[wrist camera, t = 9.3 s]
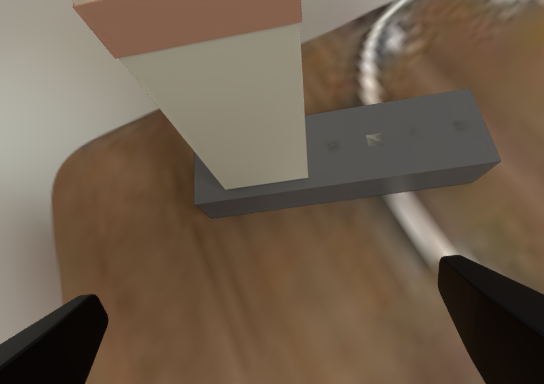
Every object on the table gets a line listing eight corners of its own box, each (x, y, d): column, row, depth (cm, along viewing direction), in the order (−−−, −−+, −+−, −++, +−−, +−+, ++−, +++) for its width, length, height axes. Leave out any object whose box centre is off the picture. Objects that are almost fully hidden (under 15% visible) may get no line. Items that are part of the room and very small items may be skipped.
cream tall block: (309, 178, 14) (297, -88, 4) (224, 190, 14) (43, -29, 5) (300, 122, 15) (275, -183, 5) (222, 135, 15) (72, -130, 6)
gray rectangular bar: (472, 182, 15) (501, 160, 13) (211, 218, 16) (194, 204, 14) (448, 118, 16) (470, 88, 14) (210, 155, 18) (194, 134, 15)
